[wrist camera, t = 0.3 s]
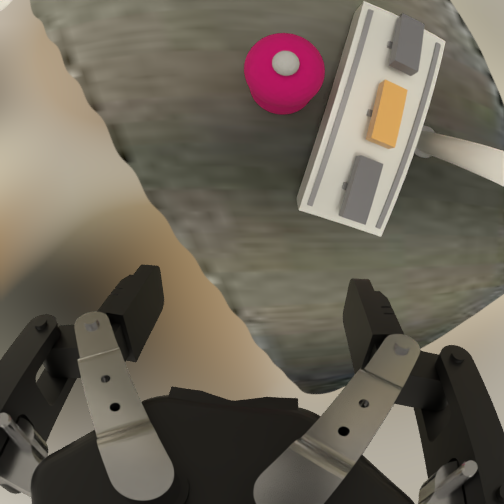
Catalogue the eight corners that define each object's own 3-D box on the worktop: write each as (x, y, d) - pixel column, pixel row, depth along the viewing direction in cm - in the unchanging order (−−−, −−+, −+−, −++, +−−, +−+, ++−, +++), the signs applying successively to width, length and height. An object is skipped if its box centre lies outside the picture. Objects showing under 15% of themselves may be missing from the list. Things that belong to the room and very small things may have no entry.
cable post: (413, 120, 34) (524, 141, 15) (439, 133, 35) (551, 167, 15) (404, 149, 36) (507, 194, 17) (429, 161, 37) (535, 215, 17)
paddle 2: (396, 19, 25) (402, 12, 23) (417, 29, 25) (424, 24, 23) (388, 65, 26) (395, 60, 24) (410, 76, 26) (418, 71, 25)
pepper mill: (321, 81, 34) (364, 54, 16) (288, 125, 37) (300, 137, 19) (273, 49, 32) (270, -7, 14) (240, 93, 35) (205, 76, 17)
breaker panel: (354, 12, 29) (365, -1, 24) (428, 46, 30) (447, 40, 25) (296, 198, 41) (299, 211, 36) (370, 222, 41) (382, 238, 36)
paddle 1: (355, 156, 32) (360, 155, 31) (377, 164, 33) (383, 164, 31) (338, 215, 34) (342, 217, 32) (360, 222, 34) (365, 224, 32)
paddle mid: (379, 83, 29) (384, 79, 27) (400, 93, 29) (407, 89, 27) (365, 139, 30) (371, 137, 28) (388, 149, 30) (394, 147, 28)
